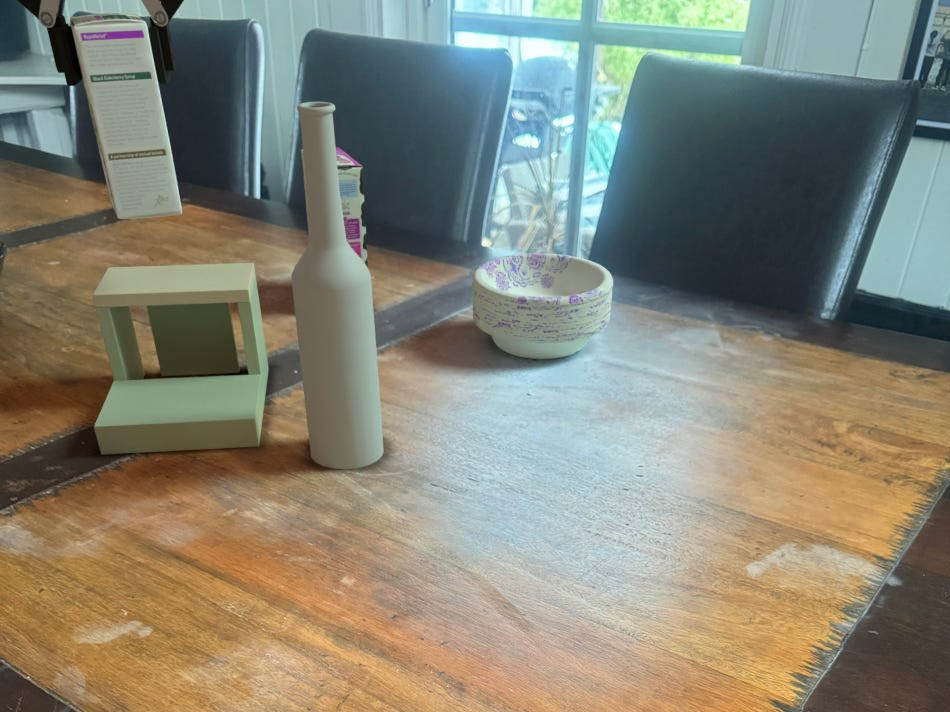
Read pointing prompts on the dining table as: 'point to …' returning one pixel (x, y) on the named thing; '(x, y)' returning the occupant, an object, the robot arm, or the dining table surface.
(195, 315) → the shelf
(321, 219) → the bottle
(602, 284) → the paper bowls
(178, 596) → the dining table surface
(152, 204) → the syrup box
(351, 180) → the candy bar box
